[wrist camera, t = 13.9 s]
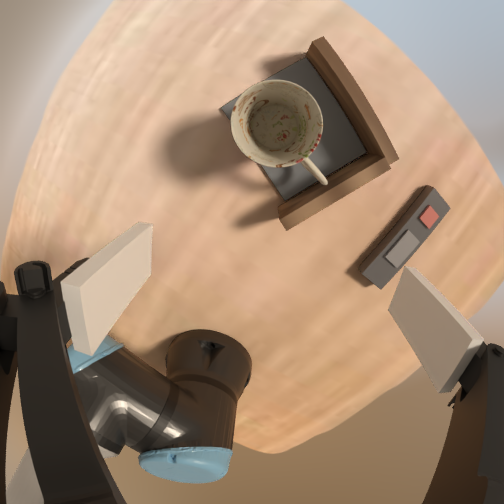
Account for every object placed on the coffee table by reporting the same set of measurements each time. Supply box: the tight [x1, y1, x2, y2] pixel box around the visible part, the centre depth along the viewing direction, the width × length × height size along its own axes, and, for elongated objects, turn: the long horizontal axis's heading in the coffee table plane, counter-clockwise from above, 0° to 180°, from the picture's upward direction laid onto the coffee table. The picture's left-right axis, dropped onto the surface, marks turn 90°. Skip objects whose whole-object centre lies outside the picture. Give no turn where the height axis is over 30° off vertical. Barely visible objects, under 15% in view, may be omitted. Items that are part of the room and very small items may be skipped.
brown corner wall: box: [278, 36, 399, 231], centre depth 31 cm, size 16×16×6 cm
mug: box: [230, 80, 328, 185], centre depth 29 cm, size 8×13×10 cm, turn 45°
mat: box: [221, 58, 366, 200], centre depth 33 cm, size 13×14×1 cm
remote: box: [358, 185, 450, 289], centre depth 36 cm, size 16×4×2 cm, turn 144°
